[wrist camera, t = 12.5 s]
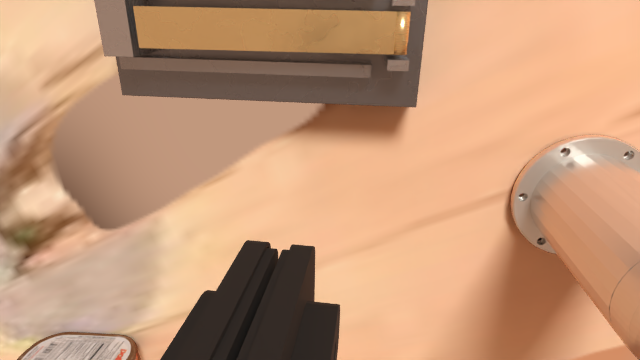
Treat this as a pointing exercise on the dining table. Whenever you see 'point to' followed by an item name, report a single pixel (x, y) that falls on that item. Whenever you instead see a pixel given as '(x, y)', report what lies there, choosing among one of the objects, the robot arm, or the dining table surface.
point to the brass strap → (273, 29)
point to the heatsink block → (265, 60)
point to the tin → (82, 347)
